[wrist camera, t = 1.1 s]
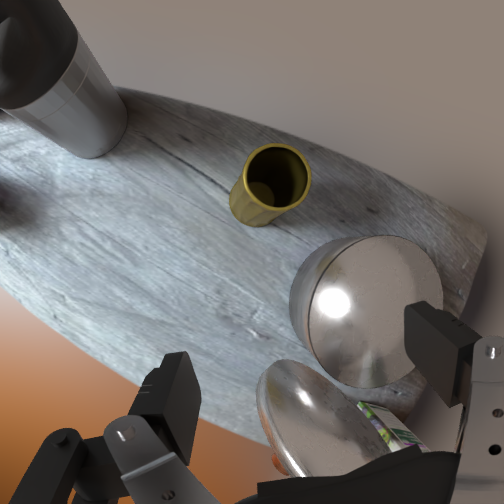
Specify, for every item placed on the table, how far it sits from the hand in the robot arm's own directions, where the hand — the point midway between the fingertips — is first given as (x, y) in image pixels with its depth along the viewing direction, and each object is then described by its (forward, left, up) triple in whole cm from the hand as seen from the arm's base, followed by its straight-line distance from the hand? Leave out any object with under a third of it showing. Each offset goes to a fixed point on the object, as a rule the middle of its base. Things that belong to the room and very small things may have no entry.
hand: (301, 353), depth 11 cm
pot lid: (+12, -4, -9) cm, 16 cm away
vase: (-5, +8, -27) cm, 28 cm away
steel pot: (+12, +7, -27) cm, 30 cm away
